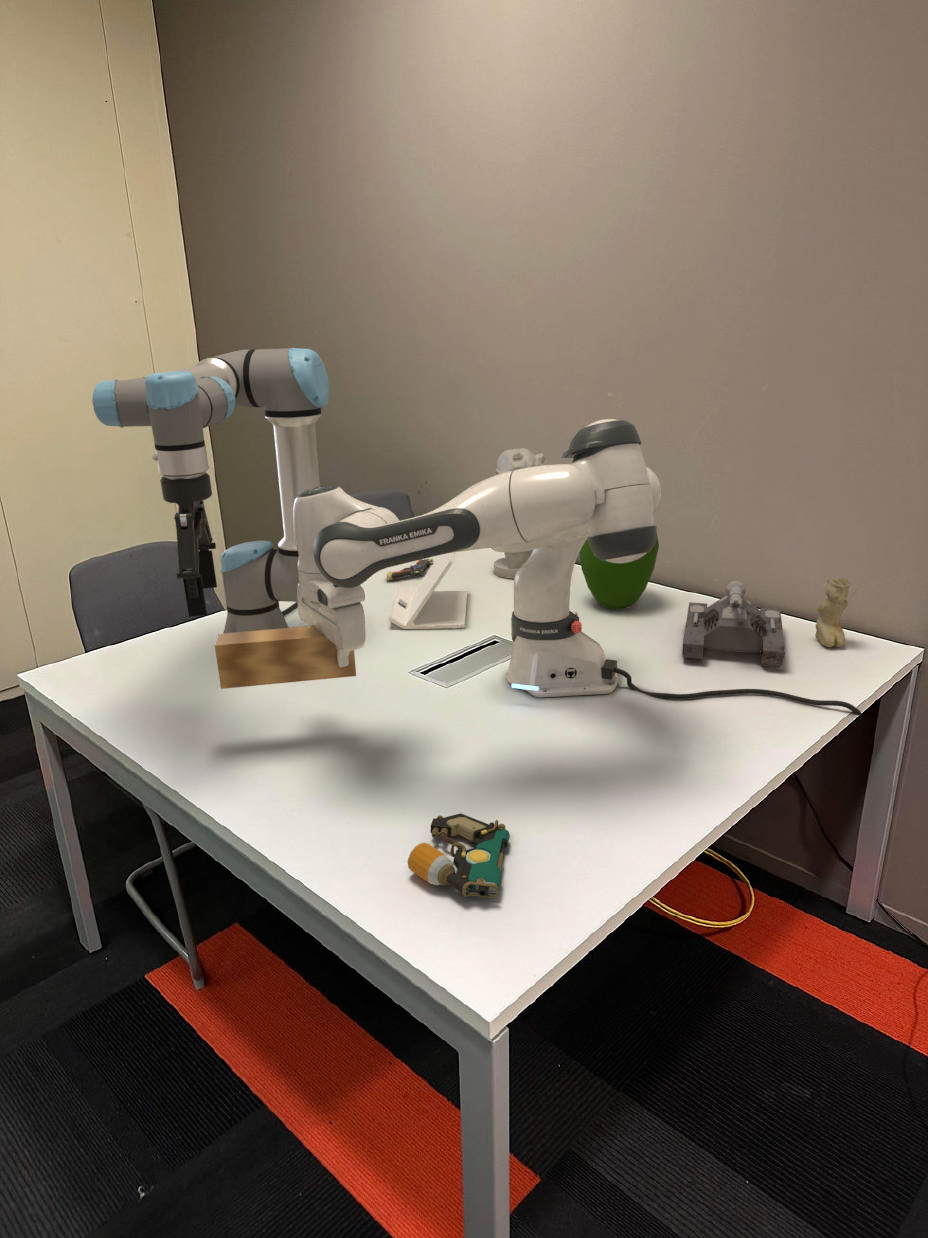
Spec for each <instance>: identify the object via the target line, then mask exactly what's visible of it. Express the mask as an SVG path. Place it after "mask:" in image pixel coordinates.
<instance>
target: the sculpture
mask: <svg viewBox="0 0 928 1238" xmlns="http://www.w3.org/2000/svg"><path fill="white" fill-rule="evenodd" d="M826 581H827V586H826V588H825V590H824V593H825V595H826V596H827V598H826V600H824V601H822V602H821V603H820V604H819V605H818V606H817V609H816V610H817V612H818V614H819V616H818V617H817V619H816V623H815V630H816V631H815V634H814V635H815V639H817V640H819V642H820V643H821V644H822V645H823V646H825V647H827V648H832V647H834V646H835V647H843V646H844V645H845V643H846V642H845V641H846V636H845V632H844V630H843V626H842V624H841V622H840V621H841V617H842V615H843V612H844V610H845V609H846V608H847V606H848V604H849V603H848V602H849V601H847V598H848V597H849V592H850V586H851V585H852V582H850V580H848V579H847V578H845V577H841V576H840V577H835V578H831V577H827V578H826Z"/></svg>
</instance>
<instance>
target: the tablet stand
mask: <svg viewBox="0 0 928 1238" xmlns="http://www.w3.org/2000/svg"><path fill="white" fill-rule="evenodd" d="M455 558H456V552H453V553H447V554H442V555H438V556H437V558H436V559H435V561H433V564H432V565H431V567H430V568H429V569H428V571H427V573H426V574H425V575H424V577H423V579H422V580H421V581H420V583H419V584H418V585H417V587H416V589H415V590H412V589H410V588H409V587H407V586H406V585H403V584H400V585H399V586H398V589H397V591H396V595H395V598H394V601H393V604H392V607H391V610H390V612H389V613H390V614H389V617H388V621H389V622H391V623H392V624H394V625H396V626H398V627H399V628H401V629H402V630H426V629H427V630H429V629H430V630H431V629H435V630H436V629H437V630H438V629H464V628H465V627H466V618H467V617H466V616H467V605H468V591H467V590H436V589H437V587H438V585H440V582H441V581H442V580H443V578H444V577H445V575H446V574H447V573H448V571H449V570H450V569H451V567H452V566H453V564H454V562H455ZM399 603H400V604H399ZM402 605H403V606H405V607H403V606H402Z"/></svg>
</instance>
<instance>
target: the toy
mask: <svg viewBox="0 0 928 1238" xmlns="http://www.w3.org/2000/svg"><path fill="white" fill-rule="evenodd" d="M746 592H747V587H746V584H744V583H743V582H742V581H741V580H732V581H731V582H729V583H728V584H727V585H726V588H725V594H726V595H725V596H723V597H722V598H719V599H718V600H716V601H715V602H713V603H712V604H710V605H709V606H708V603H704V602H703V603H702V602H690V601H689V602H688V608H687V614H686V621H685V627H684V632H683V641H682V652H681V653H682V655H681V656H682V658H683V661H687V662H701V663H702V661H703V655H704V648H706V649H708V650H715V651H727V652H737V653H752V654H756V653H760V666H762V667H773V668H781V667H783V663H784V661H785V654H786V644H785V636H784V628H783V619H782V612H781V608H776V607H775V608H774V607H764V606H763V607H760V608H758V607H757V606H756V605H755V604H754V603H752V602H751V600H749V599H748V598H747V597H745V595H746Z"/></svg>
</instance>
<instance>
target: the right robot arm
mask: <svg viewBox="0 0 928 1238" xmlns="http://www.w3.org/2000/svg"><path fill="white" fill-rule="evenodd" d="M641 444H642V441H641V438H640V435H639V433H638V430H637V428H636V426H635V425H634V424H633V423H631V422H629V421H628V420H625V419H624V420H623V419H622V420H621V419H615V418H604V419H600V420H596V421H593V422H592V423H589V424H588V425H586V426H585V427H583V428H581V429H579V430H578V431H577V433H576V434H575V435H574V436H573V437H572V439H571V440H570V443H569V446H568V449H567V450H565V451H564V452H563V453H562V455H561V459H572V461H571V463H564V464H563V463H559V464H558V463H557V464H556V463H555V464H543V465H542V466H534V467H528V468H522V469H518V470H513V471H509V472H505V473H501V474H498V475H495V474H494V475H493V476H490V477H488V478H485V479H483V480H482V481H478V482H476V483H474V484H472V485H471V486H469V487H468V488H466V489H465V490H463V491H462V492H460V493H459V494H458V495H456V496H455V497H453V498H452V499H451V500H449V501H448V502H446V503H444V504H443V505H441V506H439V507H437V508H435V509H433V510H431V511H429V512H427V513H424V514H422V515H421V514H420V515H418V516H414V517H411V518H406V519H402V520H400V518H399V517H398V515H397V514H396V513H394V512H393V511H392V510H390V509H389V508H386V507H383V506H376V505H374V504H370V503H367V502H365V501H362V500H359V499H358V498H355V497H353V496H351V495H349V494H348V493H347V492H345V490H344V489H342V487H340V486H338V485H333V484H327V485H320V487H315V488H313V489H309V490H306V491H304V492H302V493H301V494H299V495H298V496H297V497H296V499H295V502H294V507H293V529H294V540H295V545H296V547H297V550H298V555H299V558H298V564H297V568H298V577H299V584H298V586H297V604H298V606H297V613H298V616H299V619H300V620H301V622H303V623H305V624H306V625H307V626H313V627H314V628H316V629H317V630H318V631H320V632H321V633H322V634H324V635H325V636H326V638H327V639H328V640H330V641H331V642H333V643H334V644H335V645H336V649H338V652H337V655H336V656H335V659H336V664H337V665H338V666H340V667H345V666H348V664H349V659H348V656H349V653H350V651H352V650H354V651H355V650H359V649H362V648H363V647H364V646H365V643H366V616H365V609H364V606H363V604H362V603H363V602H365V601H366V594H365V590H364V588H363V587H362V586H361V585H363V584H364V583H365V582H366V581H368V580H369V579H370V578H371V577H373V575H375V574H377V573H378V572H380V571H382V570H385V569H388V568H392V567H396V566H399V565H404V564H408V563H412V562H413V563H414V562H418V561H419V560H424V559H430V558H433V557H438V556H439V555H442V554H447V553H453V552H455V553H460V552H469V551H475V550H483V549H491V550H492V551H494V552H497V553H504V552H525V551H530V550H533V551H532V554H531V555H530V557H529V559H528V560H527V561H526V562H525V563H524V564H523V565H522V566H521V567H520V568H519V569H518V571H517V572H516V574H515V577H514V578H513V611H512V612H511V618H510V635H511V640H512V645H511V646H512V647H511V655H510V660H509V665H508V669H507V672H506V675H505V678H506V681H507V683H509V684H510V685H511V688H512V689H519V690H522V691H525V692H527V693H529V694H530V695H531V696H533V697H535V698H556V697H572V696H573V697H574V696H588V695H589V696H590V695H591V696H592V695H607V694H611V693H612V692H613V691H615V690H616V688H617V686H618V675H620V676H623V677H624V678H625V679H626V685H627V686H628V688H630V689H631V690H632V691H636V692H638V693H641V694H644V695H646V696H649V697H653V698H658V699H671V700H690V699H697V698H704V697H714V696H729V695H765V696H771V697H777V698H782V699H786V700H790V701H794V702H798V703H802V704H806V705H812V706H823V707H824V706H825V707H826V706H828V707H831V706H832V707H833V706H834V707H842V708H845V709H848V710H849V711H851V712H853V714H855V716H863V713H862V712H861V711H860V709H858V708H857V707H856V706H855V705H853V704H851V703H849V702H846V701H842V700H832V699H831V700H829V699H828V700H825V699H824V700H823V699H822V700H821V699H811V698H806V697H802V696H798V695H795V694H790V693H787V692H782V691H777V690H771V689H762V688H734V689H717V690H707V691H700V692H693V693H671V692H670V693H667V692H651V691H645V690H643V689H640V688H639V687H638V686H636V684H633V681H632V680H633V679H632V676H631V675H630V673H629V672H627V671H626V670H624V669H621V668H618V660H616V659H610V658H609V659H608V658H606V654H605V651H604V648H603V647H602V645H601V644H600V643H599V642H598V641H596V640H595V639H593V638H591V637H590V636H589V635H587V634H586V633H585V632H583V631H582V630H583V626H582V625H583V624H582V622H581V621H580V616H579V615H578V612H577V611H575V613H574V612H573V611H571V610H570V600H571V585H572V584H571V583H572V576H573V571H574V568H575V564H576V563H577V559H578V557H579V556H580V554H579V553H580V551H581V549H582V547H583V545H584V543H585V542H586V540H587V539H588V542H589V545H590V548H591V550H592V552H593V554H594V556H595V557H597V558H598V559H600V560H601V561H603V560H605V561H608V562H612V563H628V562H632V561H634V560H637V559H639V558H641V557H642V556H644V555H645V554H646V553H648V552H650V551H651V550H652V548H653V547H654V545H655V543H656V534H657V535H658V530H657V528H658V527H657V525H655V512H656V511H657V510H658V508H659V506H660V503H661V500H662V486H661V481H660V479H659V478H658V475H657V474H656V473H655V472H654V471H653V470H652V469H651V468H650V467H649V466H647V465H646V461H645V458H644V454H643V451H642V448H641Z"/></svg>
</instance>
